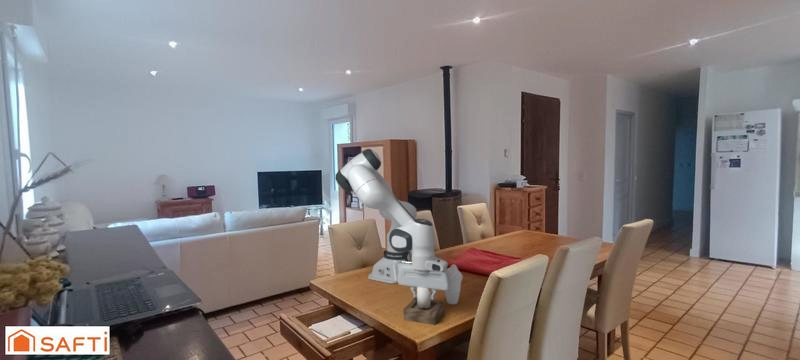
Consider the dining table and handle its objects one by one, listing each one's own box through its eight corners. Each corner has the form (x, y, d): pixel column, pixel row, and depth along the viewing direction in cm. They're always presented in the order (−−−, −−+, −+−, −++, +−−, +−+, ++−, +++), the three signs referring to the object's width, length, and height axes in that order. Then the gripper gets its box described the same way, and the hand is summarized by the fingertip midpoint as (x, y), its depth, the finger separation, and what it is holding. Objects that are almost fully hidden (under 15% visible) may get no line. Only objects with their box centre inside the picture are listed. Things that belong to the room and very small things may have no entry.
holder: (403, 319, 136) (403, 309, 135) (414, 307, 147) (414, 297, 146) (435, 324, 131) (434, 313, 131) (443, 311, 142) (443, 301, 142)
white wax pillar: (415, 307, 137) (415, 285, 137) (419, 302, 142) (419, 281, 142) (428, 309, 136) (427, 287, 135) (432, 304, 140) (431, 282, 140)
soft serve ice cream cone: (449, 307, 146) (448, 268, 145) (438, 300, 153) (438, 263, 152) (466, 304, 149) (466, 265, 148) (455, 297, 157) (455, 260, 156)
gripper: (394, 262, 139) (395, 298, 140) (447, 267, 131) (447, 305, 132) (400, 258, 145) (401, 292, 145) (451, 262, 137) (452, 298, 138)
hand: (423, 298), depth 139 cm, fingers closed on white wax pillar, 5 cm apart
